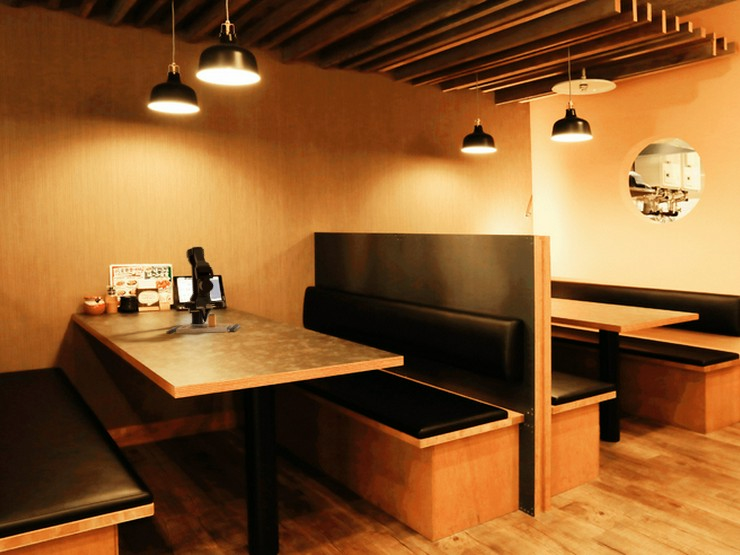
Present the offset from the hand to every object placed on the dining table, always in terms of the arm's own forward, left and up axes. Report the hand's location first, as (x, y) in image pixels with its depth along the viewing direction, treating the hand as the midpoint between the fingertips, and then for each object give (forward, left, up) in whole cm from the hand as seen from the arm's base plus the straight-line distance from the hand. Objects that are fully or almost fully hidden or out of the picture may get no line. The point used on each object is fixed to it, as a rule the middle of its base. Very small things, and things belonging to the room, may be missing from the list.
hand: (205, 322), depth 308 cm
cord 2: (0, +14, -4) cm, 14 cm away
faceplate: (0, 0, -4) cm, 4 cm away
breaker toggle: (0, +4, -2) cm, 4 cm away
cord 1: (0, -15, -4) cm, 15 cm away
